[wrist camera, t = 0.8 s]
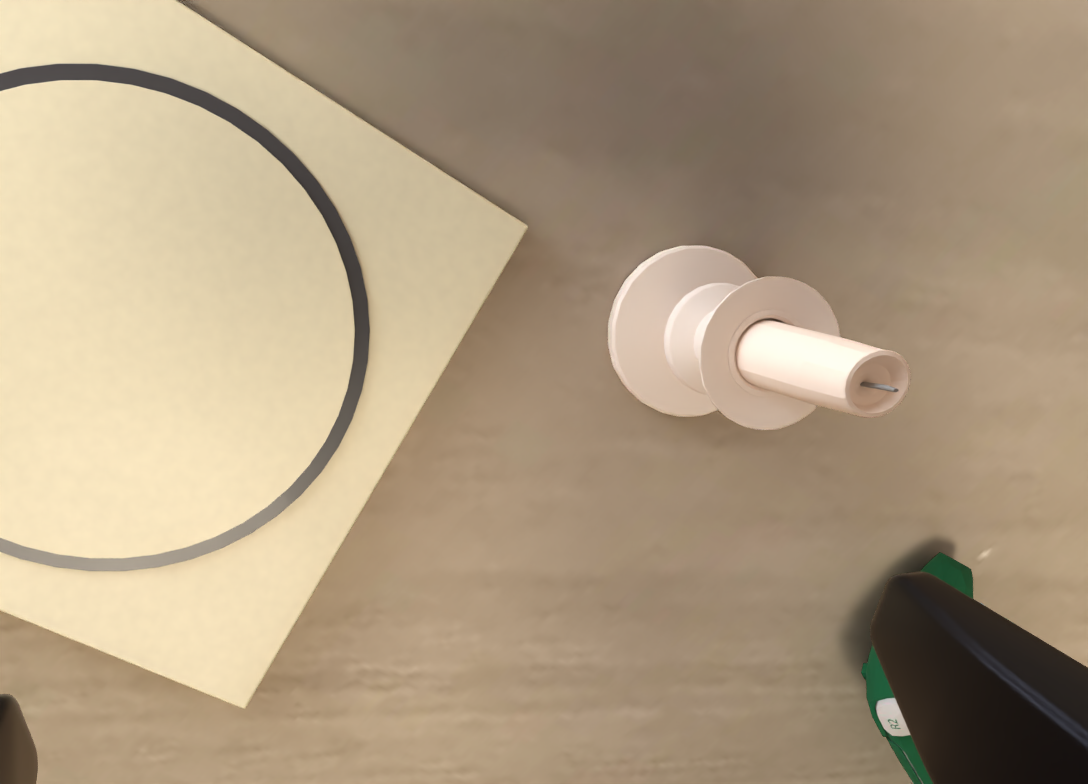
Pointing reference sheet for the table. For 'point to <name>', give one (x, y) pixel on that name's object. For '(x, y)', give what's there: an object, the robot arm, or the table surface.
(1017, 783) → the robot arm
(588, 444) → the table surface
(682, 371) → the candle
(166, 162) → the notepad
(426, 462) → the table surface
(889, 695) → the gaming controller
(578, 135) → the table surface
